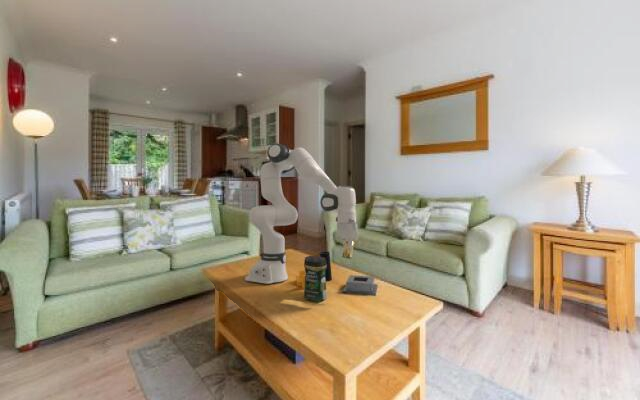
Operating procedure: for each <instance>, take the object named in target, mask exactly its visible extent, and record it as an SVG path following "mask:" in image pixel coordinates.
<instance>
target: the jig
mask: <svg viewBox="0 0 640 400" xmlns="http://www.w3.org/2000/svg"><path fill="white" fill-rule="evenodd" d="M377 290H378V284H377V283H375V276H372V275H371V276H370V275H369V276H368V275H354V274H353V275H352V274H350V275H349V276H348V278H347V280H346V283H345V286H344V288H343V289H342V293H344V294H354V295H355V294H356V295H365V296H376V295H377V292H378V291H377Z"/></svg>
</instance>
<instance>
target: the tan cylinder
mask: <svg viewBox="0 0 640 400" xmlns="http://www.w3.org/2000/svg"><path fill="white" fill-rule="evenodd" d="M347 244H348V240H347V241H346V240H345V245H344V246H343V250H342V256H341V257H342V258H344V259H350V260H352V257H353V253H354V252H353V251H354V247H355V246H354V245H355V242H354V241H353V243H352V248H350V249H349V248H347Z"/></svg>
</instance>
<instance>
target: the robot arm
mask: <svg viewBox="0 0 640 400" xmlns="http://www.w3.org/2000/svg"><path fill="white" fill-rule="evenodd" d="M266 153H267V158H268V159H269V160H270V161H269V162H266V163H264V164H263V165H262V166H261V168H260V169H261V170H260V187H261V188H260V189H261V190H260V191H261V196H262V197H263V199H265V200H266V201H268V202H270V203H271V205H270V204H269V205H258V206H254V207H252V208H251V209H250V210H249V214H248V220H249V222H250V223H251V225H253V227H255V228H256V229H258V231H259V232H260V234H261V236H262V243H263V251H262V252H261V253H259V257H260V259H259V260H258V261H257V262H255V263H254V264H253V265H252V266H251V267H250V270H249V274H248V275H246V276H245V277H244V280H245V281H247V282H255V283H261V284H266V285H267V284H273V283H280V282H284V281H286V280H288V279H289V276H288V272H287V267H286V260H287V256H286V254H287V253H286V251H285V249H286V248H285V247H286V245H285V244H286V241H285V237H284V235H283V234H281V233H280V232H277V231H276V230H274V227H280V226H281V227H282V226H283V227H284V226H290V225H293V224H296V222H297V220H298V218H299V213H298V210H297V208H296V207H295V206H294V205H292V204H291V203H290V202H289V201H288V200H287V199H286V197H285V196H284V192H283V187H282V179H281V175H282V174H283V175H285V174H286V173H289V172H291V171H293V170H294V169H295V170H296V171H297V173H298V174H299V176H300V178H302V179H303V180H305V181H307V182H310V183H313V184H316V185H318V186H320V187H321V188H322V189H323V190H324V192H326V193H324V194H323V195H322V196H321V198H320V208H321V209H322V210H323V211H325V212H329V213H336V212H337V216H336V217H335V222H336V233H337V236H338V237H340V238H341V240H342V246H343V247H344V245H345V240H346V241H348V244H347V248H349V249H350V248H352V243H353V242H354V241H357V240H358V239H359V229H358V228H359V227H358V224H357V210H356V205H357V199H356V198H357V197H356V190H355V188H354V187H353V186H351V185H345V184H344V185H341V184H340V185H336V183H334V181H333V180H332V179H331V178H330V176H328V174H327V173H326V172H325V171H324V170H323V169H322V168H321V167H320V166H319V164H318V163H317V161H315V159H314V157H313V156H312V155H311V154H310V153H309V152H308V151H307V150H306V149H305V148H303V147H295V148H294V149H290V147H288V146H286V145H284V144H281V143H273V144H271V145H270V146H269V147H268V149H267V150H266Z"/></svg>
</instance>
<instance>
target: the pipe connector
mask: <svg viewBox="0 0 640 400" xmlns="http://www.w3.org/2000/svg"><path fill="white" fill-rule="evenodd" d="M319 254H320V255H319V257H325V258H326V263H327V267H326V272H325V278H326V282H331V281H332V280H333V276H332V267H331V266H332V265H331V264H332V263H331V255H330V251H326V250H325V251H321V252H319Z"/></svg>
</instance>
